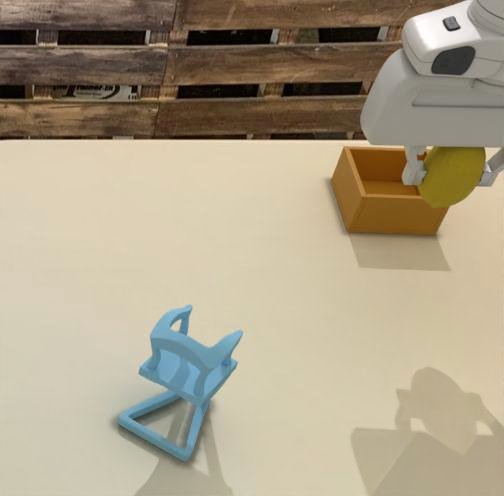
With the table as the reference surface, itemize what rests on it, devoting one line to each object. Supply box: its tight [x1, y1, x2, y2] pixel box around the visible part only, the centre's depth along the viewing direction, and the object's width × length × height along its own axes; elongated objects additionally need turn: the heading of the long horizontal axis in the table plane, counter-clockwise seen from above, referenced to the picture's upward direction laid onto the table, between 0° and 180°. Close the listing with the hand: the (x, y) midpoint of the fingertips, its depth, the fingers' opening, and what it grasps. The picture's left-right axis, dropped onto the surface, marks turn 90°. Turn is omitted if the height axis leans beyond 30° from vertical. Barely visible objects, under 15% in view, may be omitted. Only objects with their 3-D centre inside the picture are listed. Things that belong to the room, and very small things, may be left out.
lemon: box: [418, 146, 487, 208], centre depth 88 cm, size 6×6×8 cm
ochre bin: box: [330, 145, 451, 236], centre depth 105 cm, size 10×10×5 cm
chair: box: [117, 304, 244, 462], centre depth 82 cm, size 8×8×12 cm
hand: (444, 182), depth 89 cm, fingers closed on lemon, 5 cm apart
